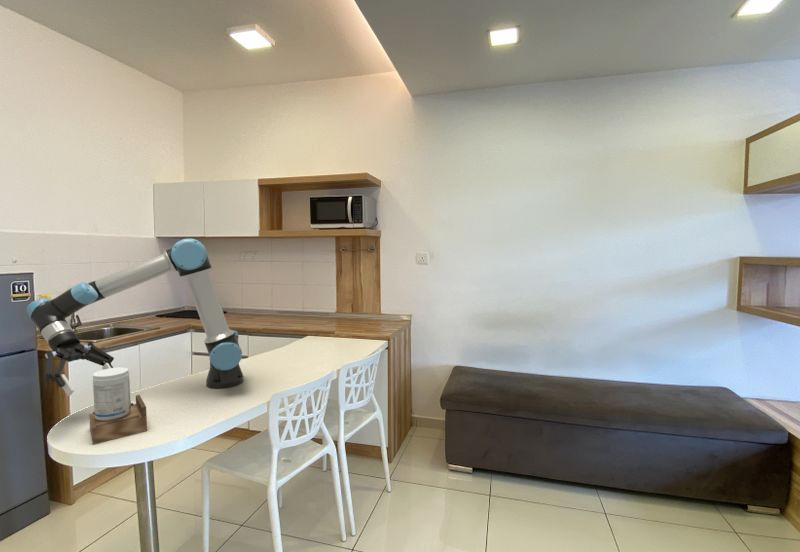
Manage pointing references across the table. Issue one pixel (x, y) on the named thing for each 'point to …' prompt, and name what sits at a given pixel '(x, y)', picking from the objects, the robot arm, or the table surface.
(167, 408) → the table surface
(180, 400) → the table surface
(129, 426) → the shelf
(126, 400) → the supplement tub
